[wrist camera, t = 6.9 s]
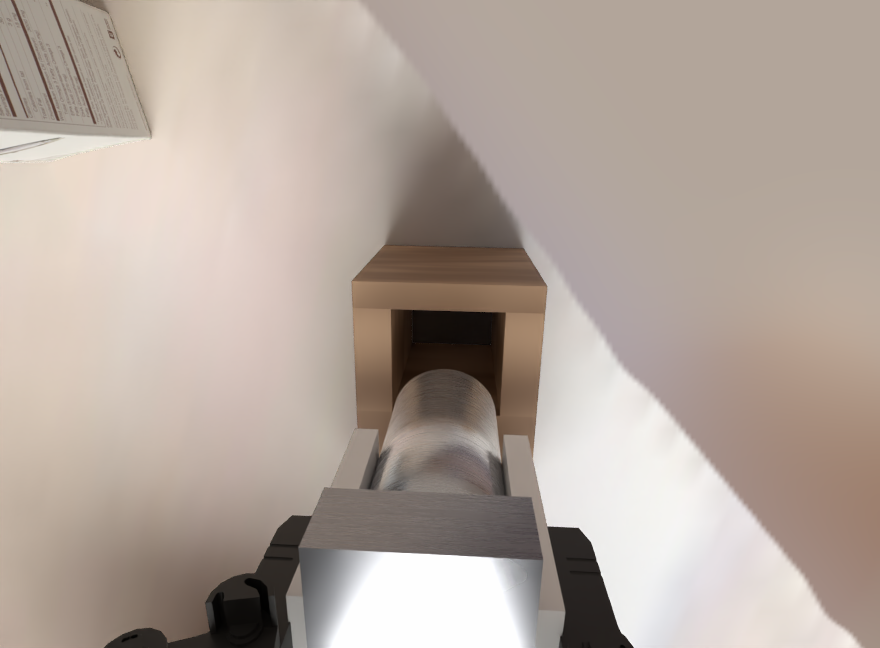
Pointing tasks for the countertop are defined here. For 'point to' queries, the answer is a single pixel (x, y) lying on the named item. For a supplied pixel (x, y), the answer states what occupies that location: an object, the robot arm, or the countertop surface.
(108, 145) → the supplement box
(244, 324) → the countertop surface
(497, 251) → the socket block
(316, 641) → the grey block
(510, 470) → the robot arm
